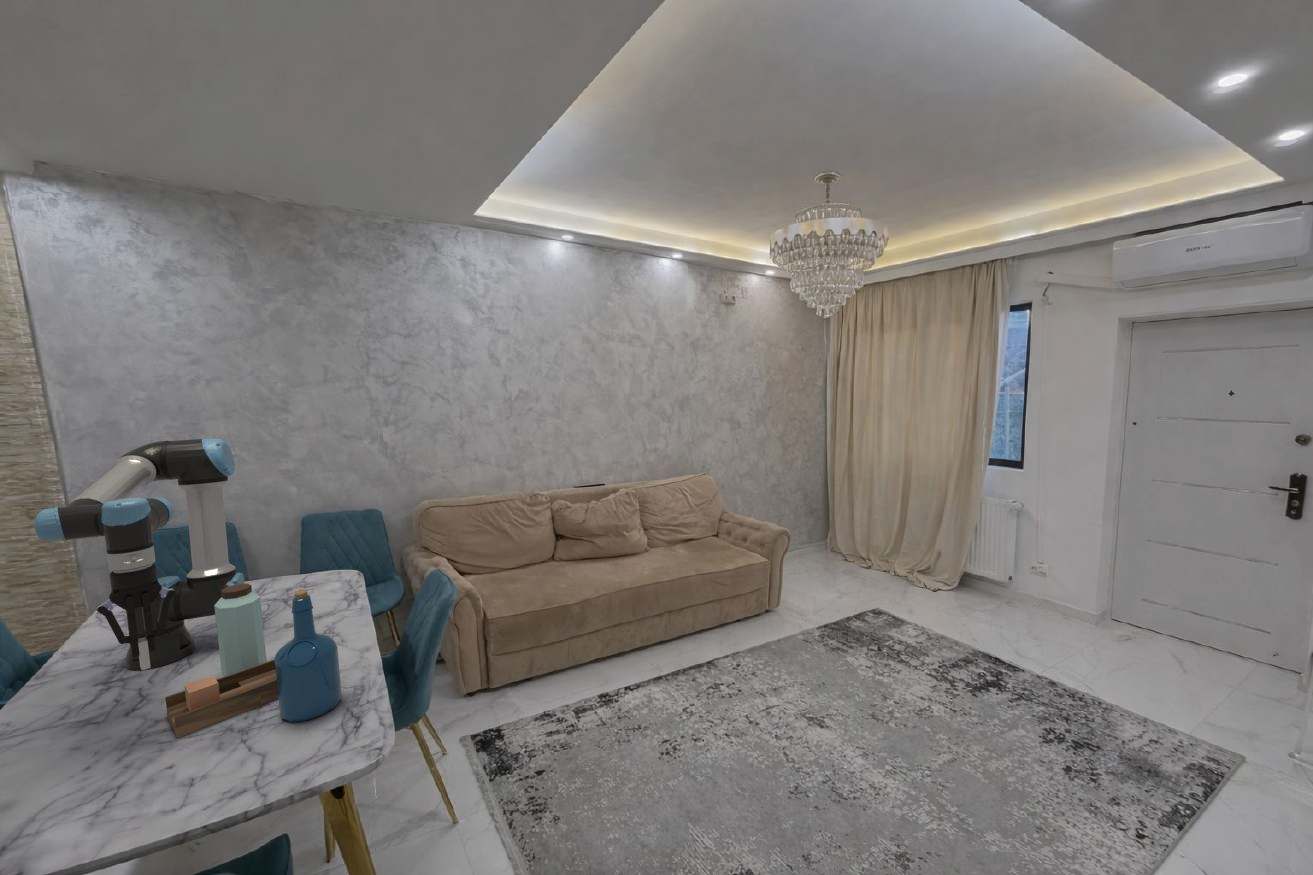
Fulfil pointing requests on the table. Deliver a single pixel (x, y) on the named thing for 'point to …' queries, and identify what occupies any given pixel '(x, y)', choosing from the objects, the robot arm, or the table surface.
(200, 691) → the block
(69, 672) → the table surface
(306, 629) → the wine bottle
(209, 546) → the robot arm
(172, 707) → the trap box
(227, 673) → the water bottle
